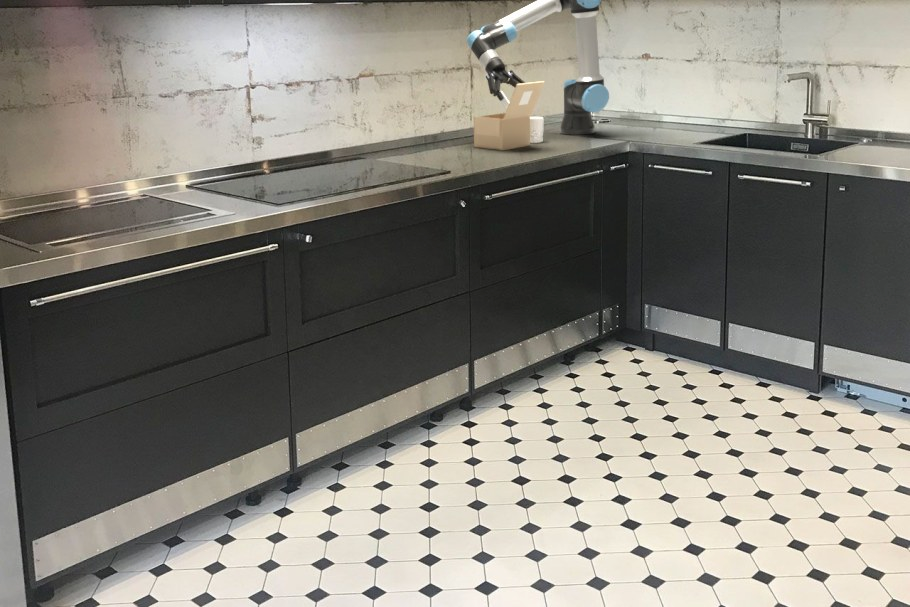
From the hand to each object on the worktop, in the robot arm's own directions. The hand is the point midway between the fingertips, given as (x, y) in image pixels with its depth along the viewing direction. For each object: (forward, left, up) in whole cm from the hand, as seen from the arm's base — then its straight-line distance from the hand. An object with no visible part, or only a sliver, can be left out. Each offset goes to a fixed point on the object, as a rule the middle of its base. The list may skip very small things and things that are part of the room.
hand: (519, 104), depth 404 cm
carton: (+5, -9, -17) cm, 20 cm away
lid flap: (-1, +1, +2) cm, 2 cm away
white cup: (-11, -16, -18) cm, 26 cm away
